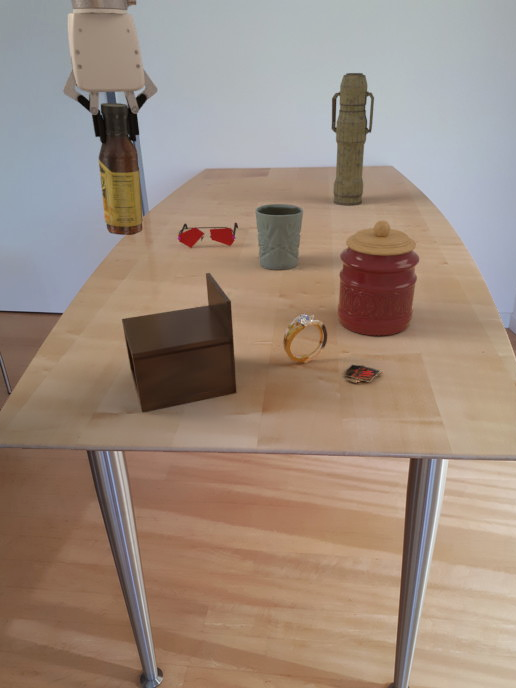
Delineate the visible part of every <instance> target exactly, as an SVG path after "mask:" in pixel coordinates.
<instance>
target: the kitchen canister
mask: <svg viewBox="0 0 516 688" xmlns="http://www.w3.org/2000/svg"><path fill="white" fill-rule="evenodd" d="M345 244H346V246H347V247H346V248H345V249H343V250H341V253H340V254H339V256H340V260H341V262H342V268H341V270H340V271H339V275H338V276H339V293H338V294H339V296H338V304H337V315H338V321H339V324H340V325H342V327H344V328H346V329H347V330H349V331H351V332H354V333H357V334H361V335H365V336H375V337H376V335H377V336H380V335H382V336H390V335H396V334H399V333H401V332H404V331H405V330H406V329H407V328H408V327H409V326H410V324H411V321H412V319H413V313H414V309H413V306H414V305H413V304H414V297H415V290H416V283H417V281H418V275H417V274H416V266H417V265H418V264H419V262H420V256H419V254H418V253H417V252H416V251H415V248H416V246H417V242H416V241H415V240H414V239H413V238H411V237H409V235H408V234H406V232H404V231H401V230H398V229H394V228H391V225H390V224H389V222H388V221H386V220H378V221H377V222H376V223H375V224H374V226H373V227H369V228H363V229H361V230H358V231H357V232H355V233H354V234H353V235H350V236H349V237H347V238H346V241H345ZM398 332H399V333H398ZM395 333H396V334H395ZM380 337H381V336H380Z"/></svg>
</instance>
